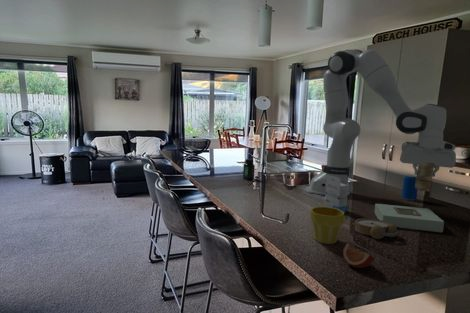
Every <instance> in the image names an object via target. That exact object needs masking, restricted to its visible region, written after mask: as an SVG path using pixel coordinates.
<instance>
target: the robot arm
mask: <svg viewBox="0 0 470 313" xmlns="http://www.w3.org/2000/svg"><path fill="white" fill-rule="evenodd" d="M327 69H328V70H326V71H325V72H324V73H323V86H322V87H323V94H324V95H323V96H324V101H325V121H324V124H323V127H322V130H323V133H324V134H325V135H326V136H328V137H329V138H331V139H332V141H331V145H330V147H329V148H328V149H327V153H326V154H327V156H326V164H322V165H321V170H322V171H321V172H320V173H318V174H316V175H315V176H313V177H312V179H311V180H310V184H309V185H307V186H305V191H306V192H307V193H308V194H316V195H321V196H325V194H326V182H327V175H329V176H333V177H336V178H340V179H341V182H340V183H342V184H345V185H348V196H349V195H350V194H351V192H350V187H349V186H350V184H349V178H350V173H351V171H350V170H351V169H350V168H351V167H350V159H351V151H352V148H353V146H354V142H355V140H356V139H357V138H358V137H359V136H360V133H361V125H360V123H359V122H358V121H356V120H354V119H352V118H350V117H347V109H348V108H349V104H350V102H349V101H350V100H349V92H348V85H347V78H348V76H352V75H354V74H356V73H359V74H360V76H361V77H362V79H363V80H364V81H365V83H366V84H367V86H368V87H369V88H370V89H371V90H372V91H373V92H374V93H375V94H377V95H378V96H380V97H381V98H382V99H383V100H384V101H385V102H386V103H387V105H388V106H389V108H390V109H391V111H392V113H393V114H394V115H395V119H396V120H395V127H396V128H397V129H398V131H399V132H401V133H402V134H405V135H413V134H416V133H418V138H417V141H405V142H404V143H402V145H401V148H400V149H401V153H400V158H399V162H400V163H402V164H411V165H412V168H413V170H414V173H413V175H416V176H417V175H419V173H420V171H418V165H422V162H426V163H434V170H433V176H432V178H435V176H436V173H437V172H438V171H440V168H441V167H442V168H449V169H451V168H454V167H455V166H456V162H457V160H456V159H457V155H456V151H455V150H456V145H455V144H453V143H450V142H447V141H445V140H444V130H445V127H446V123H447V110H446V108H445V107H444V106H442V105H440V104H434V103H426V104H424V105H422V106H420V107H417V108H415V109H411V108H410V107H409V106H408V103H407V102H406V101H405V100H404V99H403V97H402V95H401V94H400V92H399V89H398V87H397V86H398V85H397V81H396V78H395V76H394V74H393V70H392V69H391V68H390V66H389V64H388V63H387V62H386V60H385V59H384V57H382V56H381V54H380V53H379V52H377V50H375V49H372V48H371V49H367V50H364V51H362V50H360V49H345V50H339V51H336V52H334V53H332V55H330V57H328V60H327ZM331 180H332V181H336V180H334V179H331Z"/></svg>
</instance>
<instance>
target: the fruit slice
mask: <svg viewBox="0 0 470 313" xmlns="http://www.w3.org/2000/svg"><path fill="white" fill-rule="evenodd" d="M342 256H343V258H344V260H345V261H346V262H347V263H348V265H349V266H352V267H353V268H355V269H364V268H367V267H369V266H370V265H371V264H372V263H373V262H374V260H375V258H374V257H373V256H372V255H370V254H369V253H367V252H365V251H364V250H361V248H359V249H358V248H356V247H355V246H354V245H352V244H351V243H349V242H347V243H345V245H344V246H343V249H342Z"/></svg>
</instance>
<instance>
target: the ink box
mask: <svg viewBox="0 0 470 313" xmlns="http://www.w3.org/2000/svg"><path fill="white" fill-rule="evenodd" d="M331 179H334V180H336V181H332V180H331ZM340 182H341V179H340V178H336V177H333V176H329V175H327V182H326V194H325V195H324V196H325V197H324V207H331V208H336V209H339V210H341V211H343V212H344V213H347V209H348V208H347V206H348V196H349V195H348V185H345V184H342V183H340Z"/></svg>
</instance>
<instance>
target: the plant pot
mask: <svg viewBox="0 0 470 313" xmlns="http://www.w3.org/2000/svg"><path fill="white" fill-rule="evenodd" d="M310 220H311V222H312V227H313V232H314V234H313V235H314V239H315V240H316V241H317V242H318V243H321V244H326V245H333V244H335V243H337V240H338V237H339V234H340V230H341V227H342V225H344V221H345V212H343V211H341V210H339V209H336V208H331V207H325V206H316V207H312V208H311V210H310Z"/></svg>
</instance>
